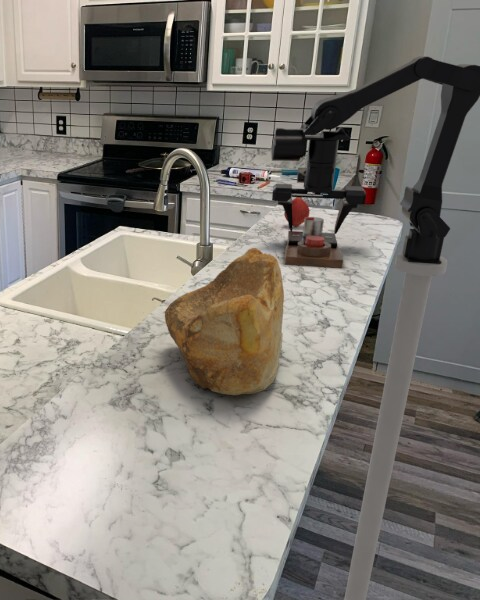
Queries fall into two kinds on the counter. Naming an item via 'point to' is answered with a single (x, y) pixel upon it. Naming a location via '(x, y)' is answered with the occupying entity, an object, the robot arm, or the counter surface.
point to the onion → (298, 211)
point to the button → (314, 241)
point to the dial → (313, 226)
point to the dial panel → (298, 236)
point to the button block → (313, 255)
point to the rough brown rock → (232, 326)
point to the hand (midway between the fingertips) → (312, 232)
